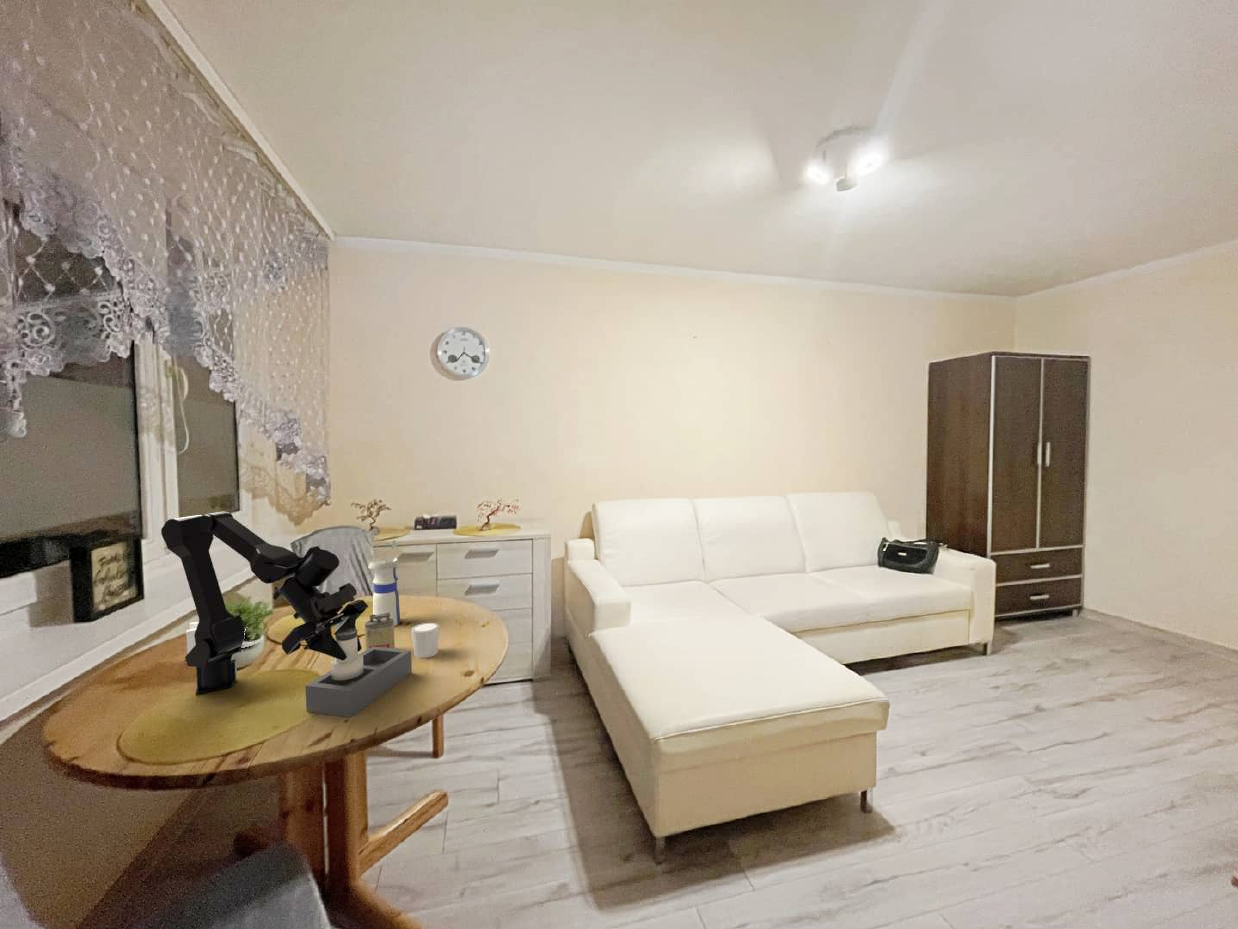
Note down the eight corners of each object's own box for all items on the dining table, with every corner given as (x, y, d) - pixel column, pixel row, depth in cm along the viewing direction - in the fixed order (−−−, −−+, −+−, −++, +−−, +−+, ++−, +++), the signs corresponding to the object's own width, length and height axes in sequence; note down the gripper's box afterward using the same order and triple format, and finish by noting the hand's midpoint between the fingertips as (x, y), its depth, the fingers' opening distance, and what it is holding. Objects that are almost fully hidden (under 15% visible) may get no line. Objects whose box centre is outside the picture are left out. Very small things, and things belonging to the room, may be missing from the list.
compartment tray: (350, 717, 101) (349, 691, 100) (306, 711, 103) (305, 685, 103) (411, 672, 120) (411, 650, 119) (373, 668, 122) (372, 646, 122)
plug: (332, 683, 103) (330, 640, 102) (331, 671, 108) (329, 630, 107) (364, 675, 106) (363, 634, 105) (362, 664, 111) (360, 625, 111)
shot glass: (433, 645, 135) (432, 620, 135) (444, 653, 131) (444, 627, 130) (407, 653, 131) (406, 627, 130) (418, 661, 126) (417, 634, 125)
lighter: (364, 656, 129) (363, 618, 128) (365, 650, 133) (364, 613, 132) (394, 651, 132) (393, 614, 131) (395, 646, 135) (394, 609, 135)
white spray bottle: (376, 619, 156) (373, 539, 154) (405, 617, 157) (402, 538, 155) (366, 629, 147) (363, 545, 146) (396, 627, 148) (393, 544, 147)
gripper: (291, 588, 97) (342, 649, 96) (359, 564, 116) (403, 615, 114) (259, 625, 100) (308, 684, 98) (331, 595, 118) (374, 645, 116)
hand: (352, 654), depth 106 cm, fingers closed on plug, 4 cm apart
